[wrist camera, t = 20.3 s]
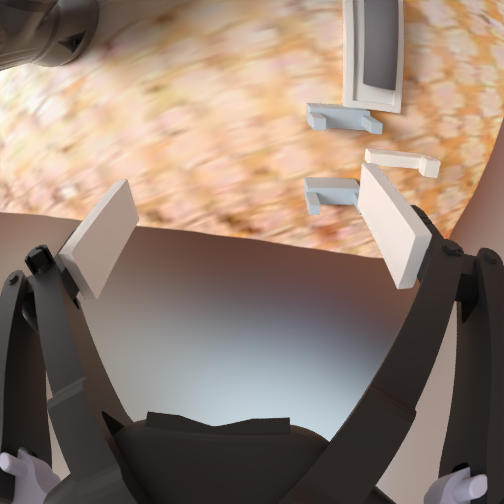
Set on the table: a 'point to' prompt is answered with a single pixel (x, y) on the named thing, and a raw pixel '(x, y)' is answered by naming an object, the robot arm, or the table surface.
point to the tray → (354, 63)
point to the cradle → (335, 188)
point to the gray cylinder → (381, 43)
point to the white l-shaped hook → (404, 161)
